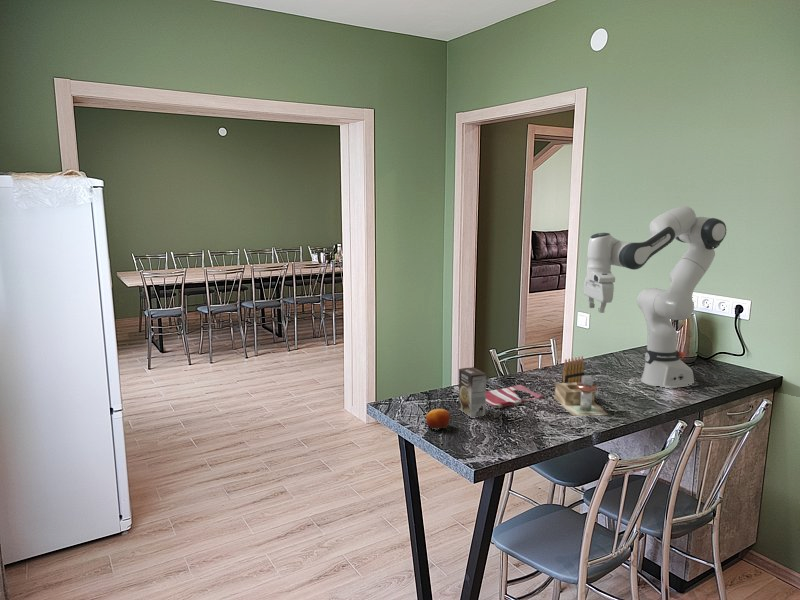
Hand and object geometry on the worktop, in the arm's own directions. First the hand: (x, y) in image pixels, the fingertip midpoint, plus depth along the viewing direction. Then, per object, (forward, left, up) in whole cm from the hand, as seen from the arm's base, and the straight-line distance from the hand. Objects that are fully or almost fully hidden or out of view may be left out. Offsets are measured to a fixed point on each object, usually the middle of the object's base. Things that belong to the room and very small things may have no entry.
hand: (596, 310), depth 233 cm
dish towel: (+36, +5, -34) cm, 50 cm away
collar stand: (+12, +17, -33) cm, 39 cm away
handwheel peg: (+12, +23, -32) cm, 41 cm away
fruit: (+67, +32, -33) cm, 81 cm away
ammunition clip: (+5, -8, -33) cm, 35 cm away
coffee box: (+53, +20, -33) cm, 66 cm away
